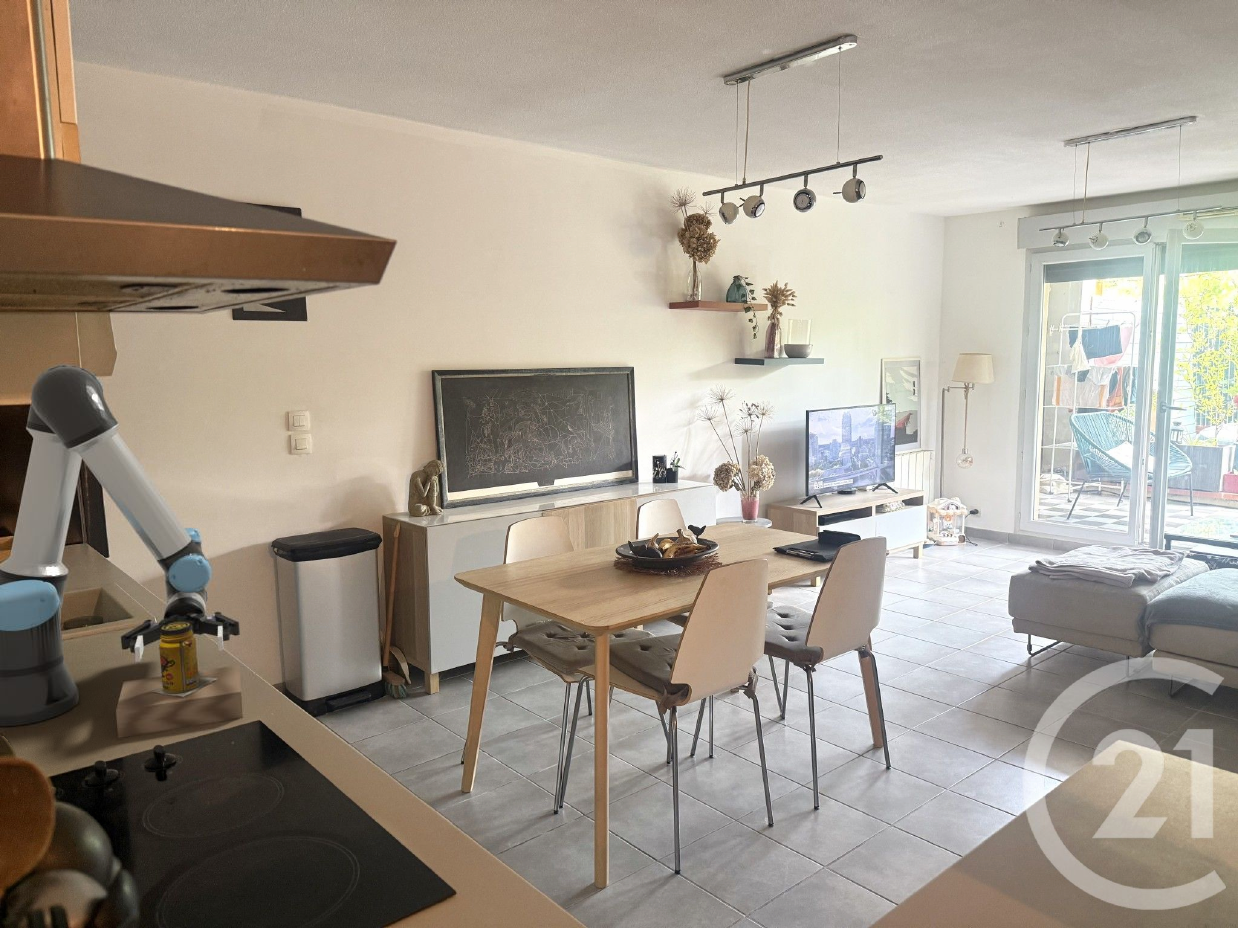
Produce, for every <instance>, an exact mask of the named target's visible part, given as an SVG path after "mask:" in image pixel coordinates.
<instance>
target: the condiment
mask: <svg viewBox="0 0 1238 928" xmlns="http://www.w3.org/2000/svg"><path fill="white" fill-rule="evenodd" d="M160 632H161V639H160V642H159V643H158V646H159V647H158V650H159V658H160V661H159V662H160V670H161V671H160V673H161V676H162V687H161V688H159V689H157V690H155V691H151V692H156V693H161V694H166V695H173V696H174V695H175V696H176V695H177V696H182V697H184V696H186V695H188V694H190V693H192V692H194V691H196V690H197V689H200V688H201V687H203V686H204V685H207V684H209V683H211V682H212V681H214V680H216V679H217V678H214V679H213V678H204V677H198V671H199V668H198V666H199V665H198V656H197V640H196V637H195V636H194V635H193V631H192V625H191V624H190V623H187V622H177V623H171V624H167V625H165V626H163V627H162V628H161V629H160Z"/></svg>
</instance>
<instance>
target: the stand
mask: <svg viewBox="0 0 1238 928" xmlns="http://www.w3.org/2000/svg"><path fill="white" fill-rule="evenodd" d="M198 677H204V678H213V679H214V678H217V679H216V680H214V681H212V682H211V683H209V684H207V685H204V686H203V687H201V688H200V689H197V690H196V691H194V692H192V693H190V694H188V695H186V696H184V697H182V696H177V695H176V696H175V695H174V696H173V695H166V694H161V693H156V692H151V691H155V690H157V689H159V688H161V687H162V675H161V676H156V677H155V676H154V677H149V678H148V677H147V678H146V677H145V678H141V679H133V680H126V681H123V683H122V687H121V691H120V694H119V698H118V702H117V705H116V710H115V716H116V725H117V726H116V728H117V737H118V739H121V738H125V737H126V738H127V737H133V736H139V735H145V734H150V733H157V732H163V731H171V730H176V729H182V728H188V727H194V726H199V725H200V726H201V725H206V724H211V723H212V722H213V723H217V722H223V720H225V721H229V720H235V719H242V718H241V717H243V718H244V715H243V703H242V698H243V697H242V685H241V672H240V664H239V665H231V666H223V667H218V668H217V667H216V668H210V669H205V670H204V669H203V670H198ZM205 723H206V724H205Z"/></svg>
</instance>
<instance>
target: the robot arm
mask: <svg viewBox="0 0 1238 928" xmlns="http://www.w3.org/2000/svg"><path fill="white" fill-rule="evenodd" d="M30 400H31V401H30V406H29V410H28V411H29V412H28V417H27V422H26V426H25V428H26V431H28V433H29V434H30V435H31V436H32V438H33V440H32V445H31V451H30V455H29V461H28V465H27V469H26V475H25V481H24V484H23V490H22V494H21V500H20V505H19V510H18V511H19V512H18V517H17V521H16V525H15V526H16V527H15V530H14V536H13V540H12V545H11V546H12V547H11V549H10V550H11V552H10V556H9V557H8V558H7V559H6V560H5V559H4V561H2V562H1V563H0V727H15V726H16V727H17V726H23V725H29V724H35V723H38V722H43V721H46V720H49V719H53V718H55V717H58V716H60V715H62V714H64V713H66V712H68V711H70V710H72V709H73V708H75V707H76V706H77V705H78V703H79V700H80V699H79V698H80V697H79V689H78V687H77V684H76V682H75V680H74V679H73V677H72V675H71V673H70V671H69V670H68V666H67V665H66V664H65V658H64V657H65V656H64V646H63V638H62V637H63V636H62V635H63V634H62V625H61V618H62V615H61V614H62V607H63V602H64V595H65V590H66V585H67V581H68V575H69V569H68V567H66V565H64V563H63V562H62V561H63V555H64V550H65V545H66V541H67V536H68V530H69V527H70V526H69V525H70V521H71V515H72V510H73V505H74V502H75V501H74V500H75V495H76V491H77V485H78V480H79V475H80V470H81V466H82V460H83V462H84V463H85V465H86V466H87V468H88V469H89V471H90V472H91V473H92V474H93V475H94V477H95V479H96V480H97V481H98V483H99V484H100V485H101V487H102V488H103V489H104V491H105V492H106V493H107V495H108V497H109V498H110V499H111V500H112V502H113V503H114V504H115V506H116V507H117V509H118V510H119V511H120V513H121V514H122V516H124V518H125V520H126V521H127V522H128V524H130V526H131V528H132V529H133V530H134V531H135V533H136V534H137V536H138V538H139V539H140V540H141V542H142V543H143V545H145V547H146V548H147V550H148V551H149V552H150V553H151V555H152V557H154V559H155V561H156V563H157V564H158V565H159V566H160V568H161V569H162V570H163V572H164V577H165V579H164V582H165V591H166V601H167V602H166V605H165V609H164V610H165V611H164V615H163V618H162V619H161V620H160V621H159V622H154V621H153V620H152V619H146V620H144V622H142V624H139V625H138V626H137V627H134V628H133V629H131V630H129V631H127V632H126V633H124V634H122V635H121V636H120V643H121V649H122V651H123V650H128V649H129V651H130V653H131V654H134V659H135V663H137V662H141V661H142V657H143V652H144V649H145V647H146V646H147V645H150V644H152V643H155V642H157V641H161V632H160V629H161V628H162V627H163V626H165V625H167V624H171V623H177V622H187V623H190V624H191V625H192V631H193V636H194V635H200V636H202V635H205V634H206V635H210V636H213V637H217V646H218V647H217V648H218V652H220V651H221V652H222V651H224V642H226V641H227V642H228V641H230V637H231V635H232V636H236V637H237V636H239V635H240V634H241V632H240V631H241V630H240V622H239V621H238V620H235V619H233V618H230V617H228V616H226V615H223V614H222V612H221V611H215V612H214V613H213V614H212V615H211V616H206V608H207V602H208V591H207V589H206V586H208V584H209V582H210V581H211V577H212V568H211V564H210V563H209V561H208V559H207V558H206V556H205V554H204V552H203V550H202V540H201V533H200V531H199V529H196V528H194V527H184V525H183V524H182V522H181V521H180V520H179V518H178V517H177V516H176V514H175V512H174V511H173V510H172V508H171V507H170V505H169V504H168V503H167V501H166V499H164V496H162V494H161V493H160V491H159V490H158V488H157V487H156V485H155V484H154V482H153V481H152V480H151V478H150V477H149V475H148V474H147V472H146V471H145V469H144V468H143V467H142V466H141V464H140V463H139V461H138V460H137V458H136V456H135V455H134V453H133V452H132V451H131V449H130V448H129V446H128V445H127V443H125V441H124V440H123V439H124V438H122V437H121V435H120V433H118V429H119V426H120V424H119V422H118V421H117V419H116V418H115V417H114V415H113V413H112V411H111V410H110V407H109V406H108V404H107V402H106V398H105V396H104V389H103V386H102V384H101V382H100V380H99V379H98V378H97V377H96V376H95V375H94V374H93V373H92V372H90V371H89V370H87V369H85V368H83V367H79V366H76V365H70V364H69V365H68V364H63V365H62V364H61V365H55V366H53V367H50V368H48V369H46V370H45V371H43V372H42V373H41V374H40V375H39V376H38V377H37V379H36V380H35V382H34V384H33V386H32V388H31V393H30Z"/></svg>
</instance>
